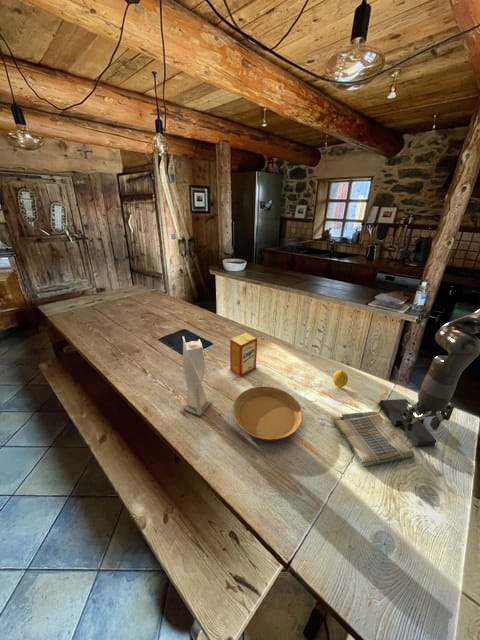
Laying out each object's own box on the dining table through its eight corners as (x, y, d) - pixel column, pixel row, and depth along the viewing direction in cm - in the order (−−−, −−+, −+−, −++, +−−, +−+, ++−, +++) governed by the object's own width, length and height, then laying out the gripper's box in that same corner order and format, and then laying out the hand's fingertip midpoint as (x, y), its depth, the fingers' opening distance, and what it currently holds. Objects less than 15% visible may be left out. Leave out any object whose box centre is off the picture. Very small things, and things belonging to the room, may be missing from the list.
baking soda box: (240, 376, 113) (240, 344, 106) (230, 369, 118) (230, 338, 111) (255, 368, 119) (257, 337, 112) (246, 361, 123) (246, 331, 116)
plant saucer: (300, 453, 81) (301, 445, 79) (224, 437, 86) (224, 429, 84) (302, 398, 102) (303, 392, 100) (241, 388, 107) (241, 381, 105)
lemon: (346, 385, 109) (350, 369, 106) (344, 393, 105) (347, 376, 102) (333, 380, 112) (336, 365, 108) (329, 388, 108) (333, 372, 104)
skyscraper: (180, 408, 97) (173, 342, 84) (193, 394, 103) (188, 331, 91) (200, 416, 93) (195, 348, 81) (212, 401, 100) (209, 336, 88)
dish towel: (415, 458, 80) (418, 451, 78) (362, 469, 76) (364, 461, 75) (375, 412, 96) (377, 406, 95) (330, 419, 93) (331, 413, 91)
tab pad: (412, 420, 93) (414, 415, 92) (434, 446, 84) (437, 440, 82) (396, 421, 93) (398, 415, 91) (416, 447, 83) (418, 441, 82)
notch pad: (404, 404, 100) (406, 398, 99) (422, 425, 91) (424, 419, 90) (378, 405, 99) (380, 400, 98) (394, 426, 90) (396, 421, 89)
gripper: (422, 399, 75) (406, 439, 82) (470, 397, 76) (450, 437, 83) (405, 382, 81) (392, 420, 89) (449, 380, 82) (432, 418, 90)
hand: (420, 428), depth 86 cm, fingers open, 8 cm apart
